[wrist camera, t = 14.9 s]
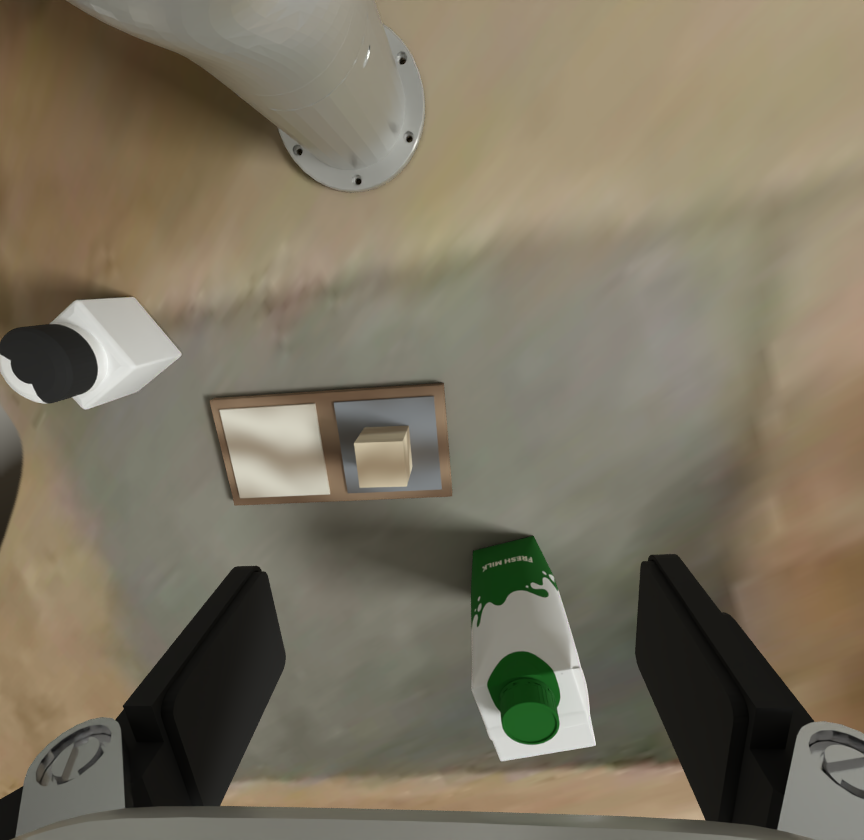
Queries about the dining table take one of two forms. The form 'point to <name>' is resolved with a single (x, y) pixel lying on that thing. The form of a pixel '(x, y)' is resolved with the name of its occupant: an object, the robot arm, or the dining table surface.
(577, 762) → the dining table surface
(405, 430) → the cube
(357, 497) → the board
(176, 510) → the dining table surface
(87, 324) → the medicine bottle
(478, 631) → the fresh milk carton
